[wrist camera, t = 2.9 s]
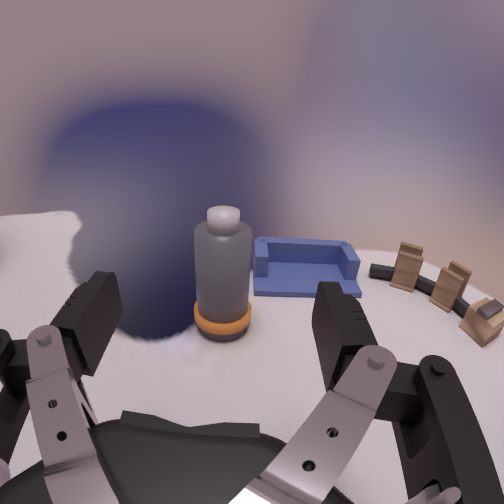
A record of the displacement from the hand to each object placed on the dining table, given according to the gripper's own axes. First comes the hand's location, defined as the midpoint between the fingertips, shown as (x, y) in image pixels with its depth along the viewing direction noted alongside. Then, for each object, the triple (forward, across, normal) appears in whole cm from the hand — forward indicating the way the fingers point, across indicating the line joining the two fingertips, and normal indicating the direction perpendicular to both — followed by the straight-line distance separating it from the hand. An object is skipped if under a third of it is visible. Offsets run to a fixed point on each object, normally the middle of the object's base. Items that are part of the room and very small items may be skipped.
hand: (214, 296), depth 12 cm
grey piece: (+12, -1, -12) cm, 17 cm away
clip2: (+16, +26, -12) cm, 33 cm away
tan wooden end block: (+10, +28, -12) cm, 32 cm away
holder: (+21, +8, -12) cm, 25 cm away
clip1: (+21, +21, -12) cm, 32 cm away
